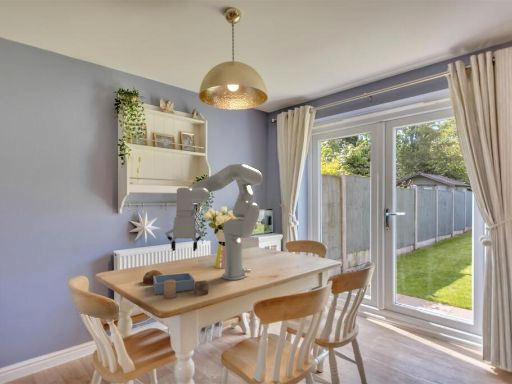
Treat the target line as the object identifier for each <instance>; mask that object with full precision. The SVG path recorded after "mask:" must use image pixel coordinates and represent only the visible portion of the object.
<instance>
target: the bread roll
mask: <svg viewBox="0 0 512 384" xmlns="http://www.w3.org/2000/svg"><path fill="white" fill-rule="evenodd" d="M159 275H164V274H163V273H162V272H161V271H159V270H157V269H152V270H149V271H147V272H146V273H145V274H144V275H143V277H142V282H143V284H144V285H148V286H150V285H151V286H153V276H159Z"/></svg>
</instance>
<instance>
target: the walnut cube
mask: <svg viewBox="0 0 512 384" xmlns="http://www.w3.org/2000/svg"><path fill="white" fill-rule="evenodd" d="M194 293H195V295H196V296H205V295H209V283H208V281H207V280H200V281H199V280H198V281H195V284H194Z"/></svg>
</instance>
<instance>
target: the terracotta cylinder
mask: <svg viewBox="0 0 512 384" xmlns="http://www.w3.org/2000/svg"><path fill="white" fill-rule="evenodd" d="M176 295H177V292H176V280H166V281H164V294H163V298H164V299H165V300H172V299H175V298H176Z"/></svg>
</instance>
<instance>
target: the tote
mask: <svg viewBox="0 0 512 384" xmlns="http://www.w3.org/2000/svg"><path fill="white" fill-rule="evenodd" d="M166 280H176V293H184V292H191V291H195V282H196V281H195V278H194V277H193V276H192V274H191V273H190V272H184V273H183V272H182V273H172V274H163V275H159V276H153V285H152V287H153V291H154V294H155V296H158V295H164V281H166Z"/></svg>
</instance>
